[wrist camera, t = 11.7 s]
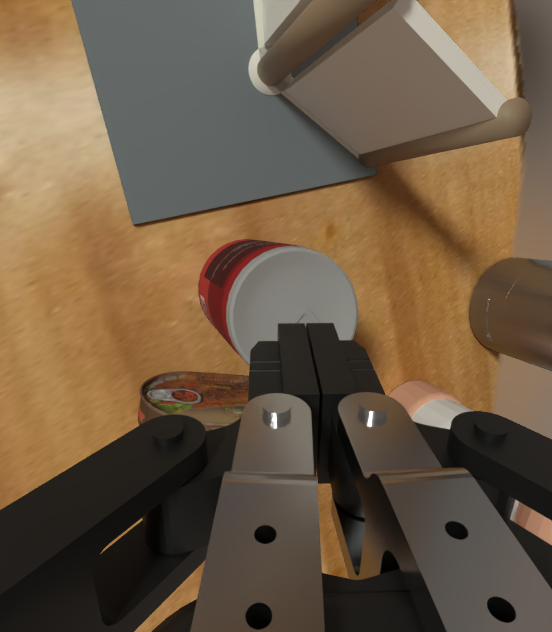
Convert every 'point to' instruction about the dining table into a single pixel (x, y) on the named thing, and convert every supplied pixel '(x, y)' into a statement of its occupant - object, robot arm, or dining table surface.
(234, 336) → the canned food
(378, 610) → the robot arm
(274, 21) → the fence panel
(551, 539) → the salt shaker
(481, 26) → the dining table surface
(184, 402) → the tin
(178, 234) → the dining table surface
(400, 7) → the fence fixed
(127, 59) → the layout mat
